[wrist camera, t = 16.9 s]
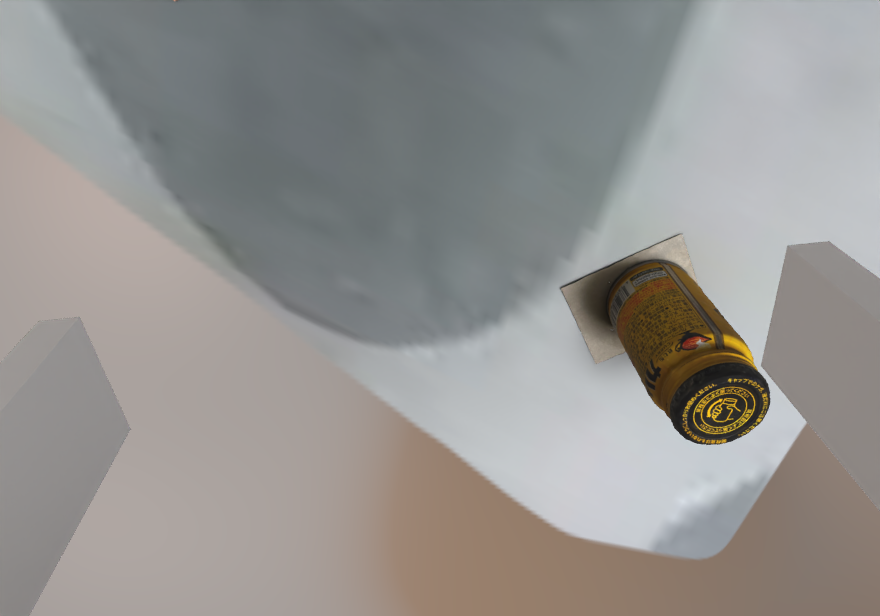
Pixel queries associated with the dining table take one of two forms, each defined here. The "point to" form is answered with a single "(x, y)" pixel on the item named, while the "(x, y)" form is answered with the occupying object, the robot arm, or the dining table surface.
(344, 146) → the dining table surface
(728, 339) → the condiment
